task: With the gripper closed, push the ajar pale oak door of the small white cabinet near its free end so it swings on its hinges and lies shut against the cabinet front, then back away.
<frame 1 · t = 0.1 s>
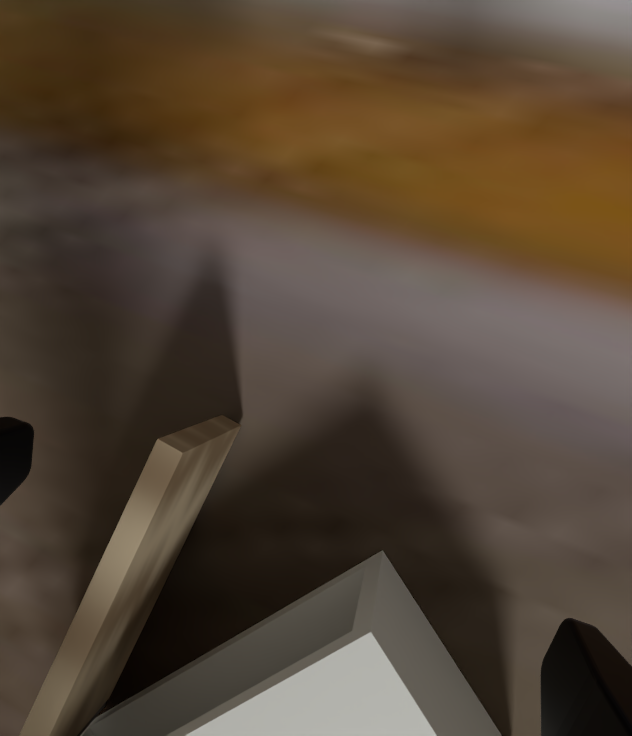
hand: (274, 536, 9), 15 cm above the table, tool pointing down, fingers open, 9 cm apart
door: (124, 600, 23), point 3 cm above the table, hinge at 30.0°
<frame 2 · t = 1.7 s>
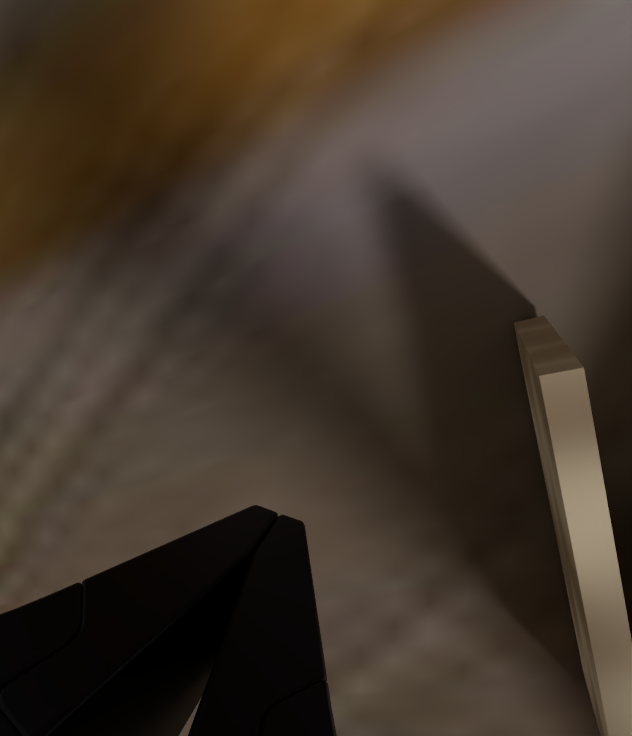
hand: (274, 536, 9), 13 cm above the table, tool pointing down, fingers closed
door: (585, 570, 18), point 4 cm above the table, hinge at 30.0°
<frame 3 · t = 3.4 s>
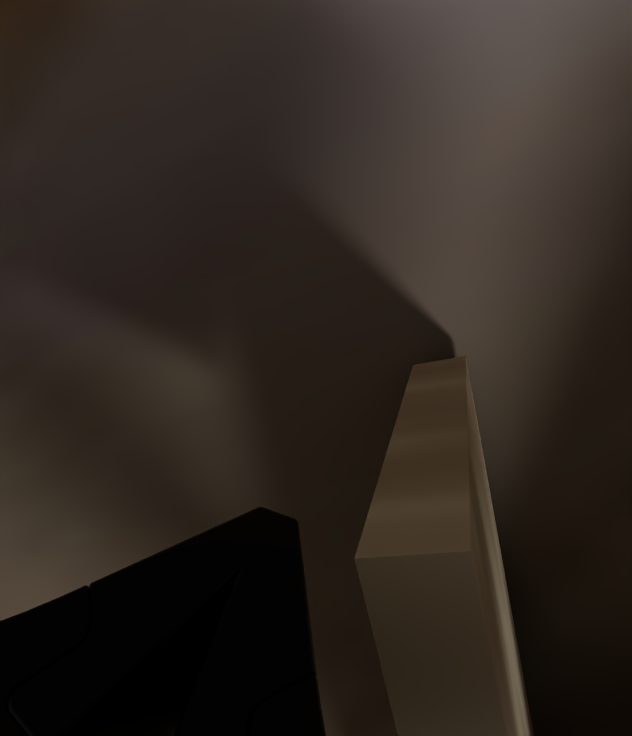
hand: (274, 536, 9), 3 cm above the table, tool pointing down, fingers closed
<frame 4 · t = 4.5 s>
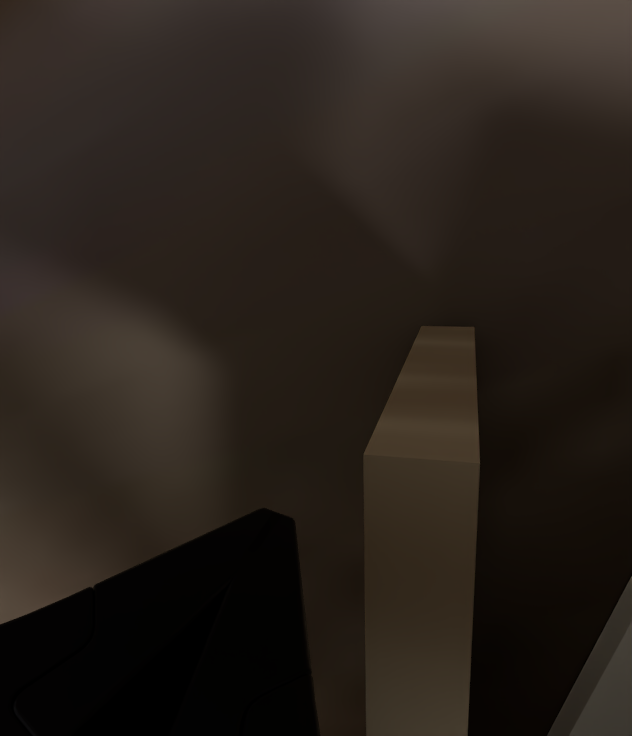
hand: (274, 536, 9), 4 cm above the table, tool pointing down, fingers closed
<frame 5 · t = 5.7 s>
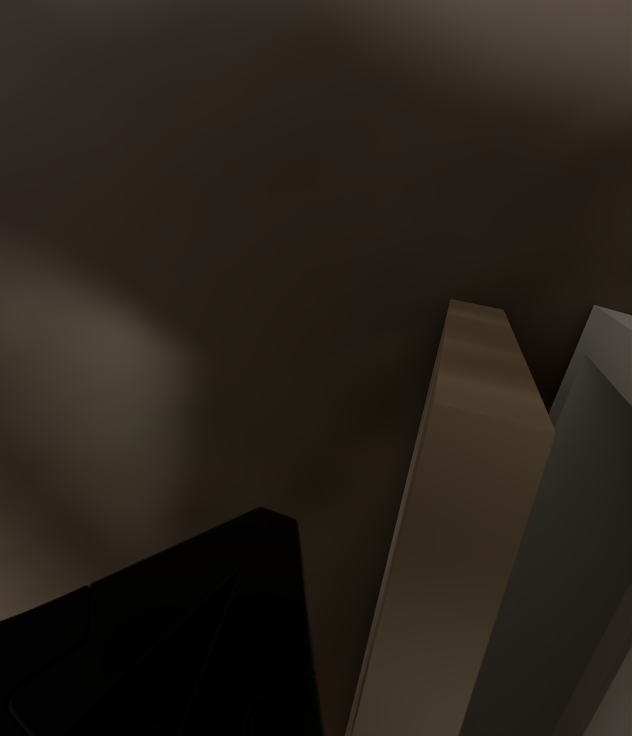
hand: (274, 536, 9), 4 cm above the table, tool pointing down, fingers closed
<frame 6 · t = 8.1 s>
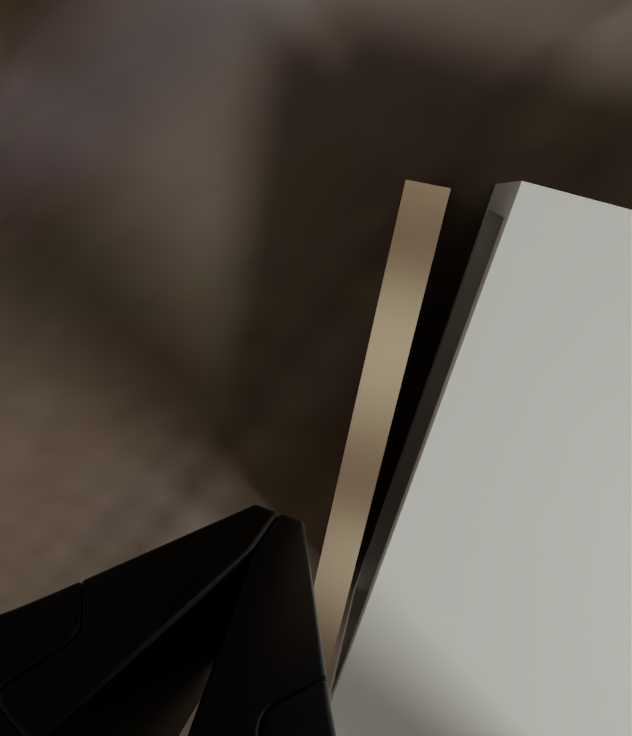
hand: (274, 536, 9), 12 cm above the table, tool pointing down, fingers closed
door: (371, 436, 18), point 3 cm above the table, hinge at 4.0°
cabinet: (547, 458, 20), on the table
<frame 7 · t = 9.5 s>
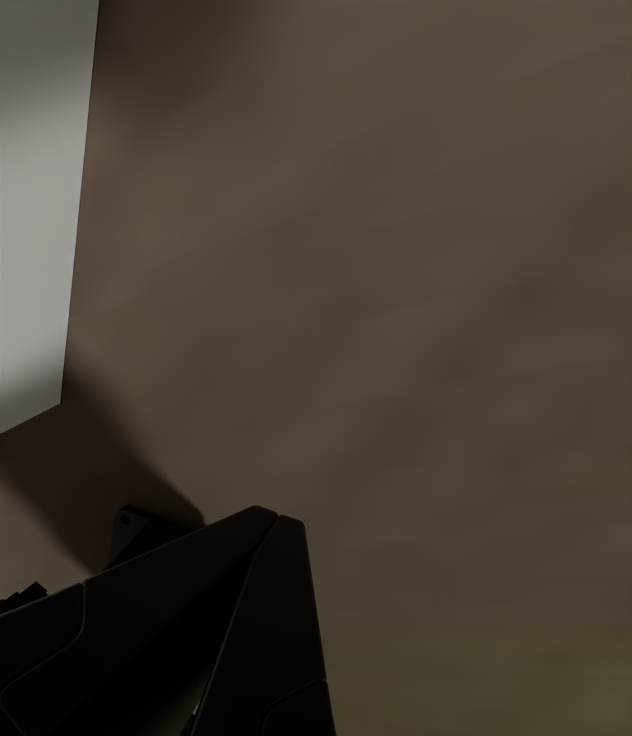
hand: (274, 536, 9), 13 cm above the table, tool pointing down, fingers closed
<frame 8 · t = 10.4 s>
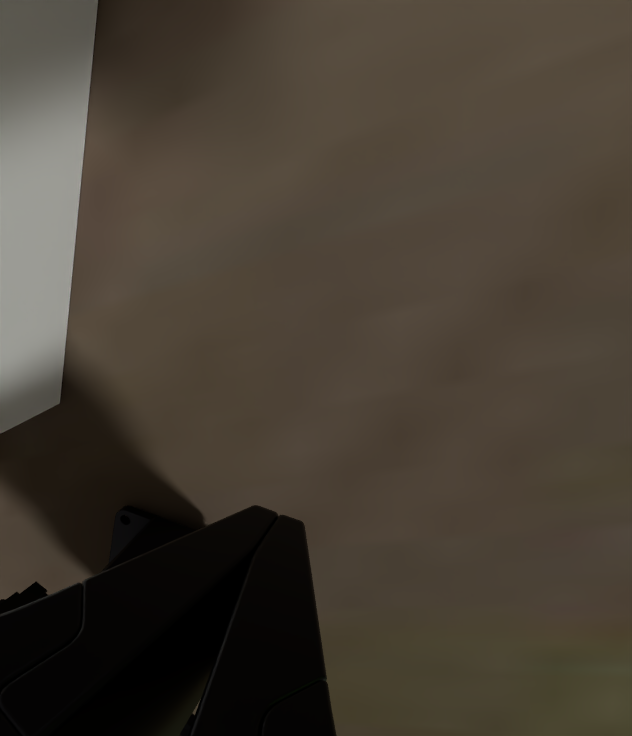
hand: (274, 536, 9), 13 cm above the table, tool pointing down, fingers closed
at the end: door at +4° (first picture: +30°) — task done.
